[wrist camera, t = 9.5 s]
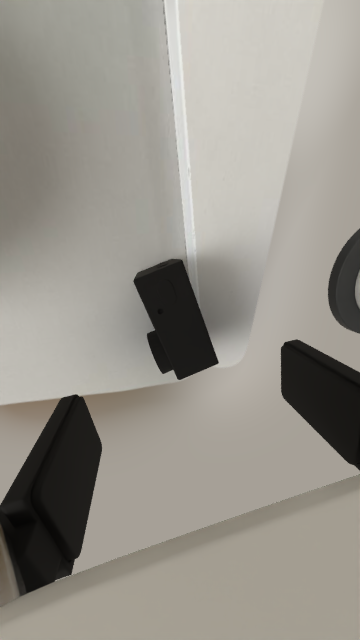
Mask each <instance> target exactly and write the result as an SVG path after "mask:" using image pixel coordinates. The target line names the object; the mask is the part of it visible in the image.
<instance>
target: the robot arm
mask: <svg viewBox="0 0 360 640" xmlns="http://www.w3.org/2000/svg"><path fill="white" fill-rule="evenodd" d="M355 298H356V302H357V305H358V307H359V309H360V270H359V273H358V276H357V279H356V285H355ZM281 392H282V395H283V398H284V399H285V400H286V401H287V402H288V403H289V404H290V405H291V406H292V407H293V408H294V409H295V410H296V411H297V412H298V413H299V414H300V415H301V416H302V417H303V418H304V419H305V420H306V421H307V422H308V423H309V424H310V425H311V426H312V427H313V428H314V429H315V430H316V431H317V432H318V433H319V434H320V435H321V436H322V437H323V438H324V439H325V440H326V441H327V442H328V443H329V444H330V445H331V446H332V447H333V448H334V449H335V450H336V451H337V452H338V453H339V454H340V455H341V456H342V457H343V458H344V459H345V460H346V461H347V462H348V463H349V464H352V465H355V466H356V467H357V468H358V469H359V470H360V372H358V371H356V370H354V369H352V368H350V367H348V366H347V365H344V364H343V363H341V362H339V361H337V360H335V359H333V358H332V357H330V356H328V355H326V354H324V353H322V352H320V351H318V350H316V349H314V348H313V347H311V346H309V345H307V344H305V343H303V342H301V341H300V340H292V341H288V342H285V343H284V345H283V346H282V347H281ZM101 452H102V444H101V441H100V438H99V436H98V433H97V431H96V428H95V426H94V423H93V420H92V418H91V415H90V413H89V410H88V408H87V405H86V403H85V400H84V398H83V397H79V396H78V395H77V394H75V395H71V396H67V397H63V398H61V400H60V401H59V403H58V405H57V407H56V408H55V410H54V412H53V414H52V415H51V417H50V419H49V421H48V422H47V424H46V426H45V428H44V429H43V431H42V433H41V435H40V436H39V438H38V440H37V442H36V443H35V445H34V447H33V449H32V450H31V452H30V454H29V456H28V457H27V459H26V461H25V463H24V465H23V466H22V468H21V470H20V472H19V473H18V475H17V477H16V479H15V480H14V482H13V484H12V486H11V487H10V489H9V491H8V493H7V494H6V496H5V498H4V500H3V501H2V503H1V505H0V640H360V474H359V475H356V476H353V477H350V478H347V479H344V480H341V481H339V482H336V483H333V484H329V485H326V486H324V487H321V488H318V489H315V490H312V491H309V492H306V493H303V494H300V495H297V496H294V497H291V498H288V499H285V500H283V501H280V502H277V503H274V504H271V505H268V506H265V507H262V508H259V509H257V510H254V511H251V512H248V513H245V514H242V515H239V516H236V517H233V518H231V519H228V520H225V521H222V522H219V523H216V524H213V525H210V526H208V527H205V528H202V529H199V530H196V531H193V532H190V533H187V534H185V535H182V536H179V537H176V538H173V539H170V540H168V541H165V542H162V543H159V544H156V545H153V546H151V547H148V548H145V549H142V550H139V551H136V552H134V553H131V554H128V555H125V556H122V557H119V558H117V559H114V560H111V561H109V562H106V563H103V564H101V565H98V566H95V567H93V568H90V569H88V570H85V571H82V572H79V573H77V574H74V575H71V573H72V569H73V565H74V560H75V559H76V558H78V557H79V555H80V553H81V549H82V544H83V539H84V534H85V530H86V524H87V520H88V515H89V510H90V506H91V500H92V496H93V491H94V486H95V481H96V477H97V472H98V467H99V462H100V456H101ZM69 575H71V576H69ZM66 576H69V577H66ZM62 577H66V578H64V579H61V580H58V581H55V580H57V579H60V578H62Z"/></svg>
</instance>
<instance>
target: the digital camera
mask: <svg viewBox="0 0 360 640" xmlns="http://www.w3.org/2000/svg"><path fill="white" fill-rule="evenodd" d="M134 284H135V286H136V288H137V291H138V293H139V295H140V297H141V299H142V302H143V304H144V306H145V308H146V310H147V313H148V315H149V317H150V319H151V321H152V324H153V326H154V328H155V331H153V332H150V333H147V338H148V342H149V346H150V349H151V351H152V354H153V357H154V359H155V361H156V363H157V365H158V367H159V369H160V371H161V372H162V373H163V374H164V373H167V372H169V371H171V370H174V372H175V374H176V376H177V379H178V380H181V379H183V378H186V377H188V376H190V375H193V374H195V373H197V372H200V371H202V370H204V369H207V368H209V367H211V366H214V365H216V364H218V363H219V362H218V359H217V357H216V354H215V351H214V348H213V345H212V342H211V340H210V337H209V334H208V331H207V328H206V326H205V323H204V320H203V317H202V314H201V311H200V309H199V306H198V303H197V300H196V297H195V295H194V292H193V289H192V286H191V283H190V281H189V278H188V275H187V272H186V270H185V267H184V264H183V261H182V260H179V259H171V260H168V261H166V262H162V263H160V264H158V265H156V266H153V267H151V268H148V269H146V270H143V271H141V272H138V273H137V275H136V277H135V279H134Z"/></svg>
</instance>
